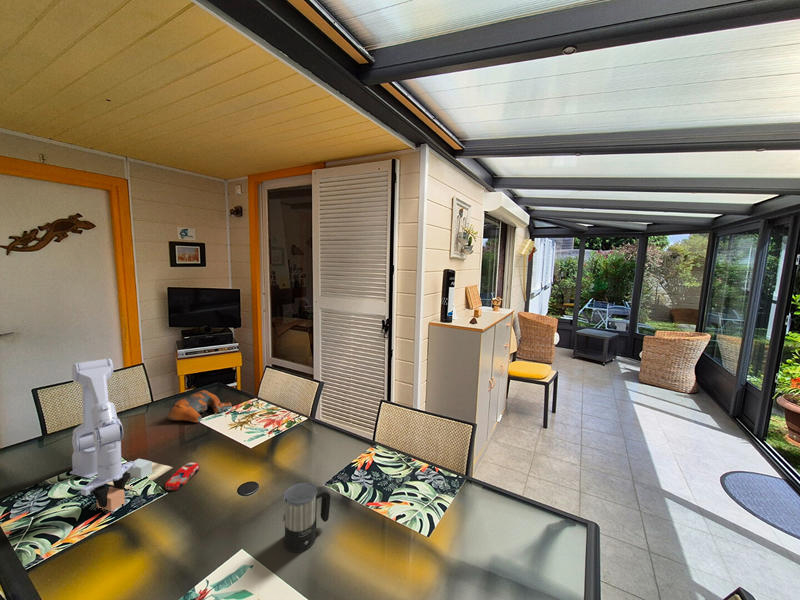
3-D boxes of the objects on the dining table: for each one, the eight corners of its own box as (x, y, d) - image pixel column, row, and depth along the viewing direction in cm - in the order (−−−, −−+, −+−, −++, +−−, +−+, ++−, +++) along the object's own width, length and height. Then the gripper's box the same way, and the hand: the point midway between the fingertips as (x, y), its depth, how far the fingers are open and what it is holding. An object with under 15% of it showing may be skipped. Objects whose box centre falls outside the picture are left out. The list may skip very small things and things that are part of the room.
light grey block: (128, 476, 118) (127, 464, 118) (139, 469, 122) (138, 458, 122) (141, 479, 117) (140, 467, 116) (151, 472, 121) (151, 461, 120)
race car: (175, 493, 112) (175, 482, 112) (161, 491, 112) (160, 480, 112) (202, 469, 125) (202, 460, 125) (189, 468, 126) (189, 458, 125)
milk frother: (297, 559, 90) (298, 509, 88) (262, 531, 98) (262, 485, 97) (334, 526, 102) (335, 481, 100) (300, 504, 110) (301, 462, 108)
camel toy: (162, 421, 156) (190, 432, 152) (171, 393, 158) (199, 404, 153) (204, 412, 180) (229, 422, 176) (211, 388, 182) (237, 397, 177)
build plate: (104, 483, 114) (104, 482, 114) (143, 460, 128) (143, 460, 128) (135, 491, 111) (135, 491, 111) (172, 467, 125) (172, 467, 125)
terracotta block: (96, 507, 103) (96, 494, 103) (110, 499, 107) (110, 486, 107) (111, 512, 102) (111, 498, 102) (124, 503, 106) (124, 490, 105)
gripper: (92, 478, 95) (94, 521, 97) (142, 451, 109) (143, 489, 111) (74, 473, 97) (76, 515, 98) (125, 447, 111) (127, 484, 112)
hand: (110, 501), depth 105 cm, fingers closed on terracotta block, 4 cm apart
